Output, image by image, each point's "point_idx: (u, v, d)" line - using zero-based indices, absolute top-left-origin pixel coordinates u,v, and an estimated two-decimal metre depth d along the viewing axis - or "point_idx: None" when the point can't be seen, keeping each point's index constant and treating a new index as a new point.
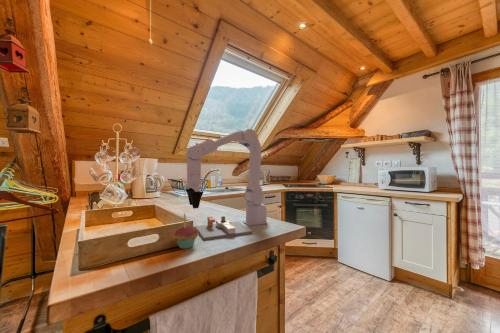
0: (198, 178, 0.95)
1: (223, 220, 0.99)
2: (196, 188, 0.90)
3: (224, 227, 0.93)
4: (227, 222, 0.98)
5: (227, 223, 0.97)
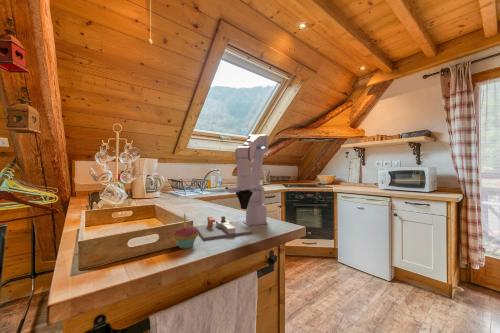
0: (242, 180, 0.91)
1: (223, 220, 0.99)
2: (229, 189, 0.89)
3: (224, 227, 0.93)
4: (227, 222, 0.98)
5: (227, 223, 0.97)
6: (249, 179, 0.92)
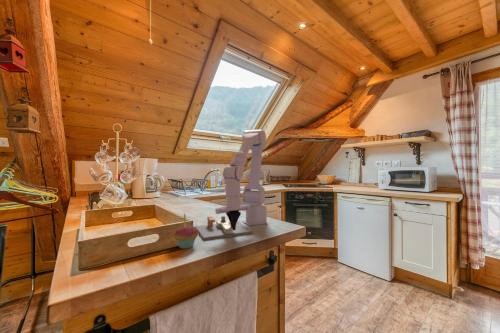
0: (229, 200, 0.89)
1: (223, 220, 0.99)
2: (216, 210, 0.88)
3: (222, 227, 0.93)
4: (227, 222, 0.98)
5: (227, 223, 0.97)
6: (237, 199, 0.90)
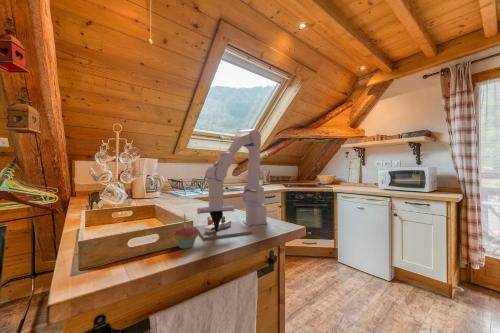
0: (210, 201, 0.88)
1: (223, 220, 0.99)
2: (197, 210, 0.88)
3: None
4: (222, 223, 0.97)
5: (220, 223, 0.96)
6: (218, 200, 0.88)
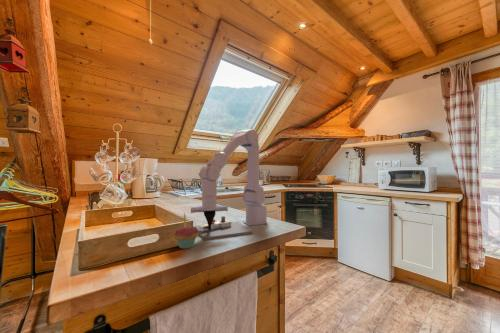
0: (203, 200, 0.90)
1: (223, 220, 0.99)
2: None
3: None
4: (220, 222, 0.97)
5: (218, 223, 0.97)
6: (210, 200, 0.89)
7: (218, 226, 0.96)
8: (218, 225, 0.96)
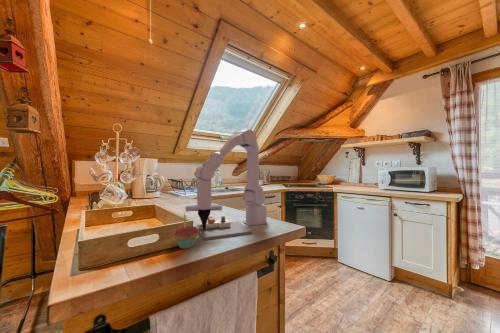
0: (197, 199, 0.92)
1: (223, 220, 0.99)
2: (186, 207, 0.93)
3: None
4: (218, 222, 0.98)
5: (216, 222, 0.98)
6: (204, 199, 0.91)
7: (216, 226, 0.97)
8: (216, 225, 0.97)
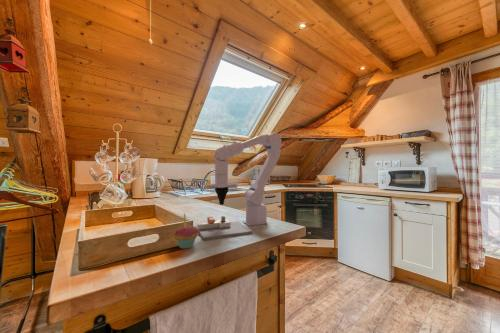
0: (217, 178, 1.01)
1: (223, 220, 0.99)
2: (205, 186, 1.01)
3: None
4: (218, 222, 0.98)
5: (216, 222, 0.98)
6: (224, 177, 1.01)
7: (216, 226, 0.97)
8: (216, 225, 0.97)
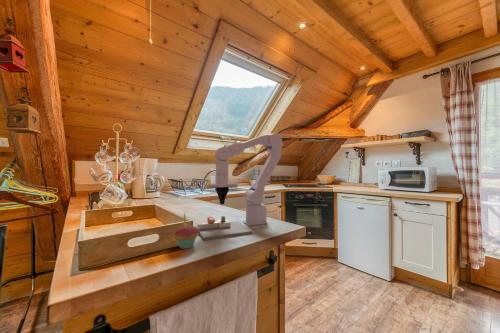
0: (217, 177, 1.02)
1: (223, 220, 0.99)
2: (206, 185, 1.02)
3: None
4: (218, 222, 0.98)
5: (216, 222, 0.98)
6: (224, 177, 1.02)
7: (216, 226, 0.97)
8: (216, 225, 0.97)
